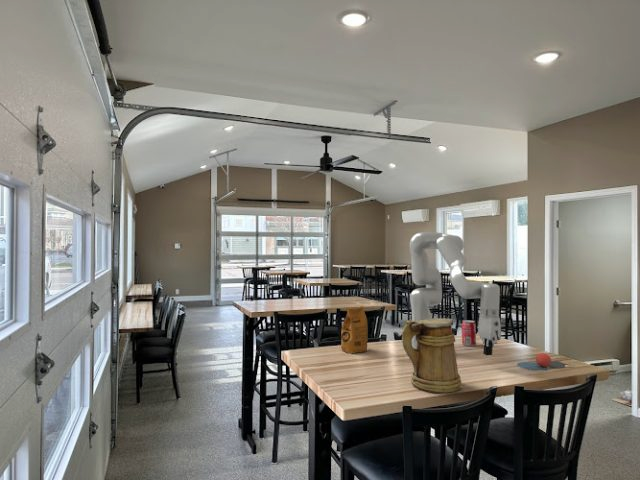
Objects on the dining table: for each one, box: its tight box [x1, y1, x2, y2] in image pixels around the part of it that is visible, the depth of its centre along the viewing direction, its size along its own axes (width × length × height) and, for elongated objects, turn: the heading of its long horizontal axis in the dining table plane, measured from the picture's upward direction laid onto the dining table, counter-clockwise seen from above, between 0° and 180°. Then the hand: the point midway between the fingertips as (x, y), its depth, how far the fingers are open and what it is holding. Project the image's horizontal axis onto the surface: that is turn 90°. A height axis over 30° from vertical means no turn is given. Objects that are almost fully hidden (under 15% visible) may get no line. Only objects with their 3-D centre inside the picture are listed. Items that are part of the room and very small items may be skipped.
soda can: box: [461, 319, 477, 348], centre depth 225 cm, size 7×7×13 cm
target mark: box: [516, 361, 551, 371], centre depth 186 cm, size 13×13×1 cm
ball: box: [535, 352, 552, 367], centre depth 185 cm, size 6×6×6 cm
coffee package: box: [340, 305, 369, 355], centre depth 211 cm, size 10×12×22 cm
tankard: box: [401, 317, 463, 394], centre depth 158 cm, size 18×24×25 cm
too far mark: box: [549, 360, 569, 369], centre depth 188 cm, size 10×10×1 cm
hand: (487, 354), depth 181 cm, fingers closed
